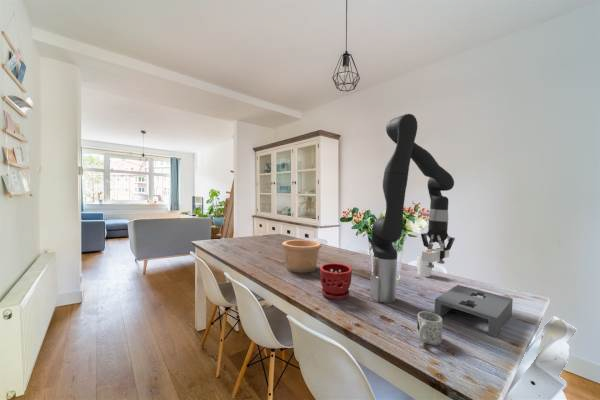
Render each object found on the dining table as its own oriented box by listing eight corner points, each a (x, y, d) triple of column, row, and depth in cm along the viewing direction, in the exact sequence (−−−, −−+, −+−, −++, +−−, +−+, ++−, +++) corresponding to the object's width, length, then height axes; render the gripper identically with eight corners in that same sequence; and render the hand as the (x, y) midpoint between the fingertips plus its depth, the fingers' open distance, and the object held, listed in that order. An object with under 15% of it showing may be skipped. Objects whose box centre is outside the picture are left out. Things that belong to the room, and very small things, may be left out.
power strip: (431, 269, 107) (432, 251, 106) (421, 267, 110) (422, 250, 109) (448, 262, 120) (449, 247, 120) (439, 260, 123) (440, 245, 123)
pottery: (321, 275, 134) (322, 247, 134) (279, 273, 135) (280, 246, 134) (319, 263, 156) (320, 240, 156) (283, 262, 156) (283, 239, 156)
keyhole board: (495, 337, 79) (496, 318, 79) (434, 315, 92) (434, 298, 92) (511, 314, 95) (512, 298, 95) (457, 298, 108) (457, 284, 108)
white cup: (413, 272, 144) (414, 255, 143) (426, 272, 144) (427, 255, 144) (421, 277, 136) (422, 258, 135) (435, 277, 136) (436, 258, 136)
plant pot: (315, 290, 113) (316, 263, 112) (343, 289, 115) (344, 262, 115) (324, 303, 100) (325, 272, 100) (356, 301, 103) (357, 271, 102)
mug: (422, 330, 82) (422, 309, 82) (444, 339, 77) (445, 317, 77) (408, 341, 75) (409, 319, 75) (432, 352, 70) (433, 328, 70)
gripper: (418, 218, 117) (416, 255, 118) (453, 221, 106) (450, 262, 107) (425, 217, 122) (423, 253, 122) (459, 221, 111) (456, 260, 112)
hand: (436, 257), depth 115 cm, fingers closed on power strip, 4 cm apart
